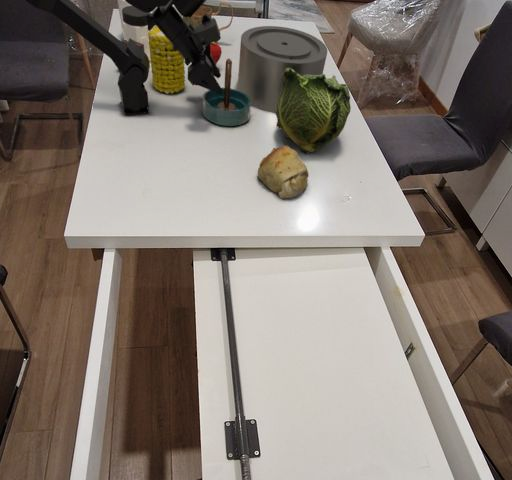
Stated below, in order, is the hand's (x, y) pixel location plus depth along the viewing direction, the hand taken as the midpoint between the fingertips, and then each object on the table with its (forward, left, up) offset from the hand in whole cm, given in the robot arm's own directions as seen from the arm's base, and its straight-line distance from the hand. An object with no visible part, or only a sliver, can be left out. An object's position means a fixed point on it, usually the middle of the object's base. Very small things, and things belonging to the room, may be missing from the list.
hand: (220, 84), depth 113 cm
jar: (-12, +39, -8) cm, 42 cm away
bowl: (+2, -1, -8) cm, 8 cm away
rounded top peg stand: (+2, -1, -7) cm, 8 cm away
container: (+23, +9, -8) cm, 26 cm away
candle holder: (-10, +51, -8) cm, 53 cm away
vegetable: (+19, -18, -8) cm, 27 cm away
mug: (+13, +47, -8) cm, 50 cm away
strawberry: (+7, +27, -8) cm, 29 cm away
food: (-9, +18, -8) cm, 22 cm away
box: (-17, +29, -8) cm, 35 cm away
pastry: (+4, -34, -8) cm, 35 cm away
